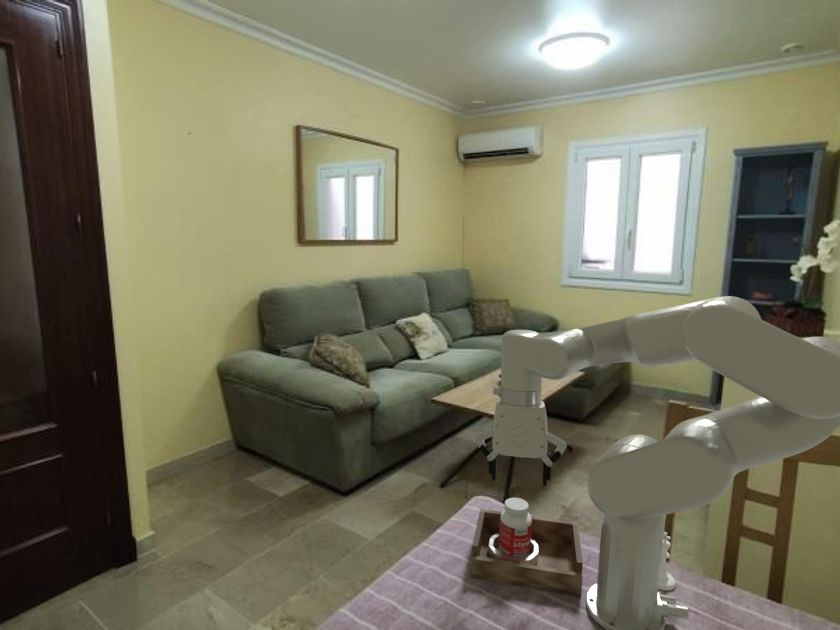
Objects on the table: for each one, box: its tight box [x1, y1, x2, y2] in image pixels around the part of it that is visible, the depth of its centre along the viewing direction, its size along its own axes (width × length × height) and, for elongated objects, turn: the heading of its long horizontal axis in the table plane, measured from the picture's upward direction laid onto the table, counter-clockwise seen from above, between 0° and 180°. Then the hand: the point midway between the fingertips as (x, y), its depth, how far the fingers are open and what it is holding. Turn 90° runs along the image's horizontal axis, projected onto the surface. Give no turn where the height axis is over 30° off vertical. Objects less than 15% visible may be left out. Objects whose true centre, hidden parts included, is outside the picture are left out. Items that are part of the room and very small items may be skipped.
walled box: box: [470, 508, 584, 598], centre depth 96 cm, size 20×14×6 cm
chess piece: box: [658, 531, 676, 591], centre depth 91 cm, size 5×5×10 cm
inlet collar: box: [489, 532, 538, 565], centre depth 97 cm, size 10×10×2 cm
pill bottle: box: [499, 497, 532, 559], centre depth 97 cm, size 6×6×11 cm
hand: (519, 480), depth 95 cm, fingers open, 9 cm apart
